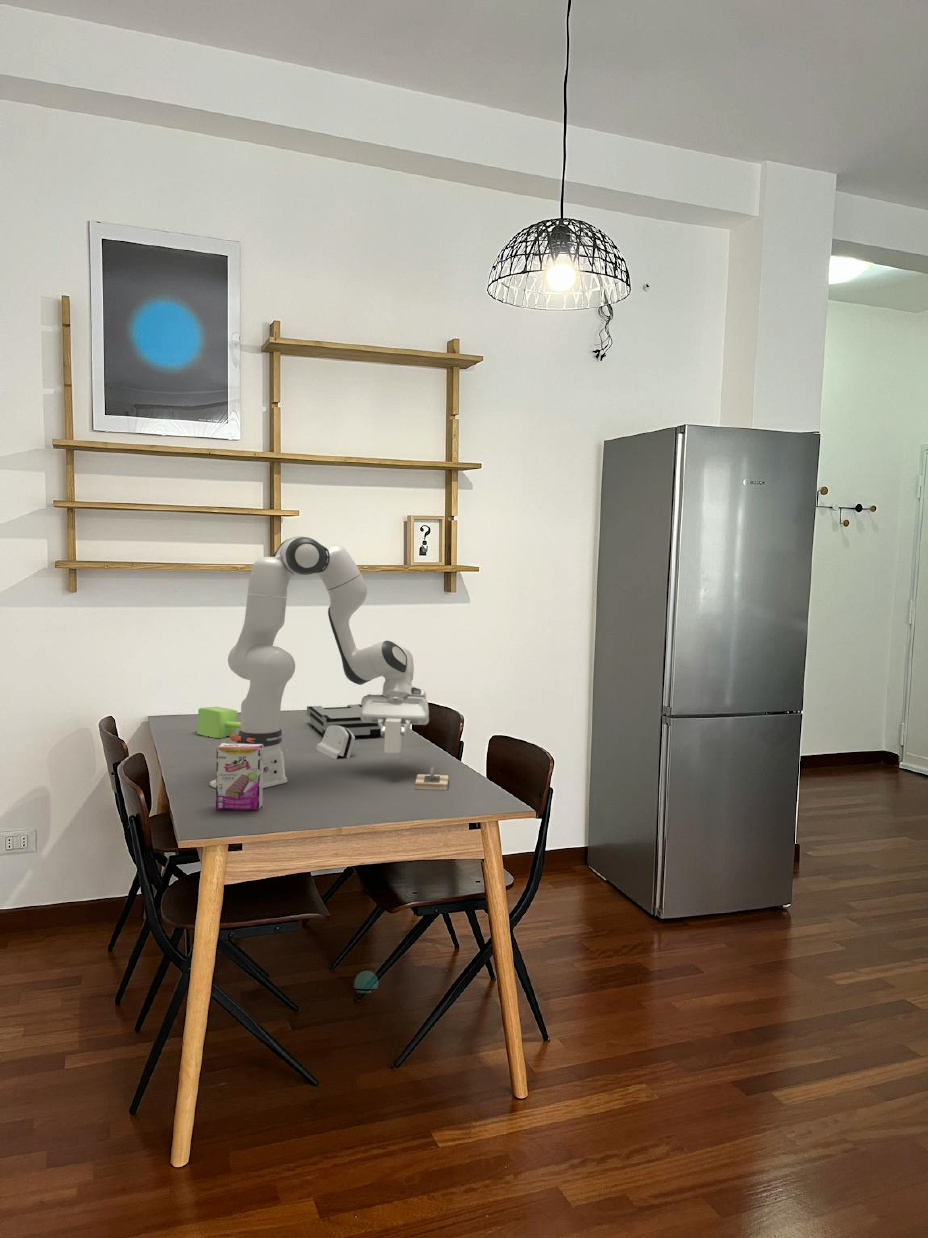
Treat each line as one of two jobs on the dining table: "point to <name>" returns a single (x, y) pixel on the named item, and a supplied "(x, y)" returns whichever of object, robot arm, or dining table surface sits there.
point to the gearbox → (217, 722)
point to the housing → (392, 735)
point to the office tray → (342, 720)
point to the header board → (431, 781)
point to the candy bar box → (239, 776)
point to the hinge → (336, 742)
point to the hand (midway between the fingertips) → (393, 734)
